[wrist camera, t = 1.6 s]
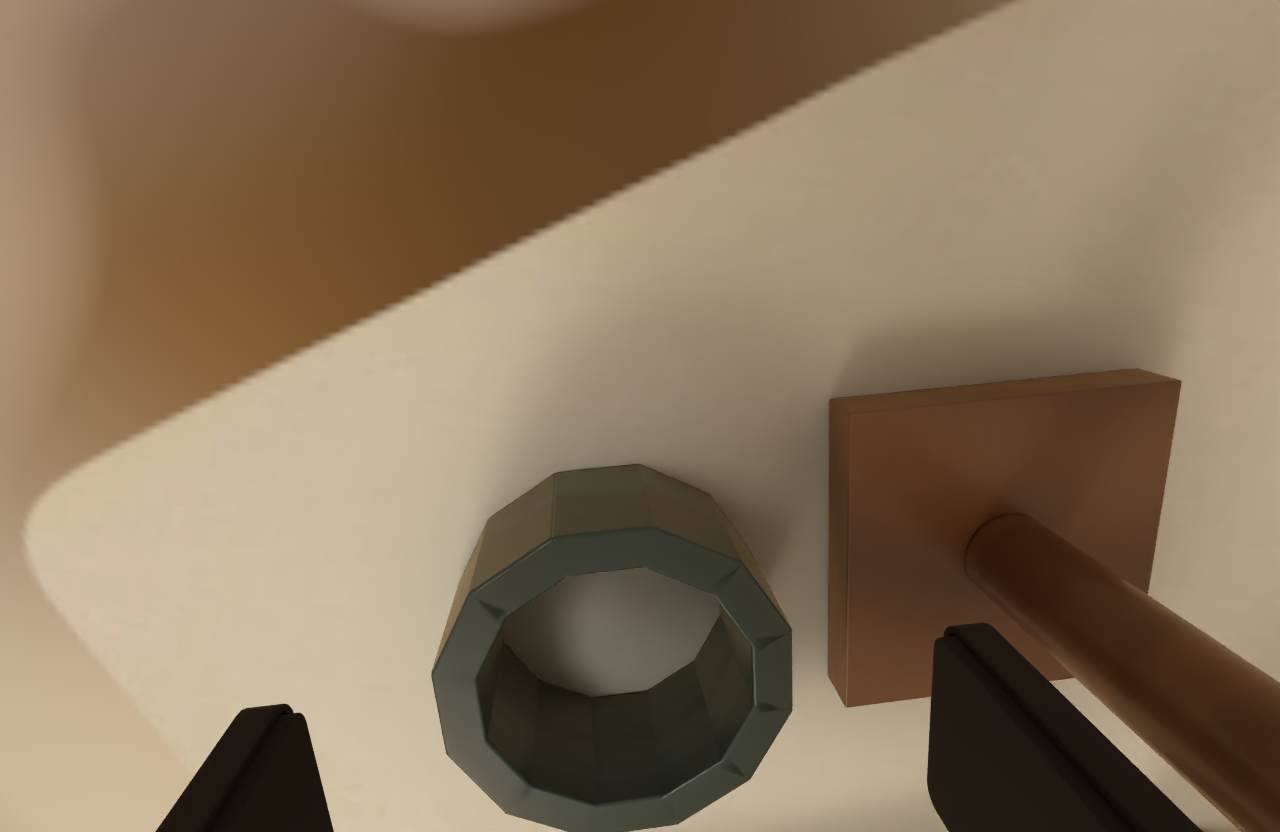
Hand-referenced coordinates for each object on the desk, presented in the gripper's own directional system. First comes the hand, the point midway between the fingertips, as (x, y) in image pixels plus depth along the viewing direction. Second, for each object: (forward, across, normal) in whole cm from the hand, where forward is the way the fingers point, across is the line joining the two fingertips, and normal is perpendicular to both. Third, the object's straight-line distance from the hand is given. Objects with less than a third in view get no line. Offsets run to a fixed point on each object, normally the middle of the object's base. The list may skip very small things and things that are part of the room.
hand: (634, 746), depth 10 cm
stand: (+10, -11, +2) cm, 15 cm away
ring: (+9, 0, +3) cm, 10 cm away
